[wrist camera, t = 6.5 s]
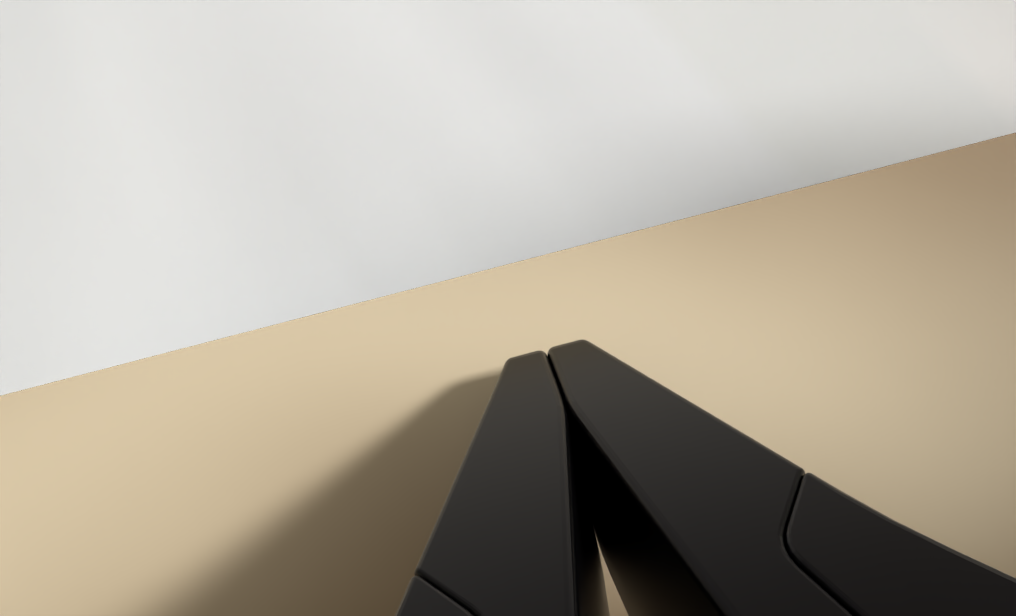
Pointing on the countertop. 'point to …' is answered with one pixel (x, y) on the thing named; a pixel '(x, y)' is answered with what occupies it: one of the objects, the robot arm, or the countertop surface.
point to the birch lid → (474, 373)
